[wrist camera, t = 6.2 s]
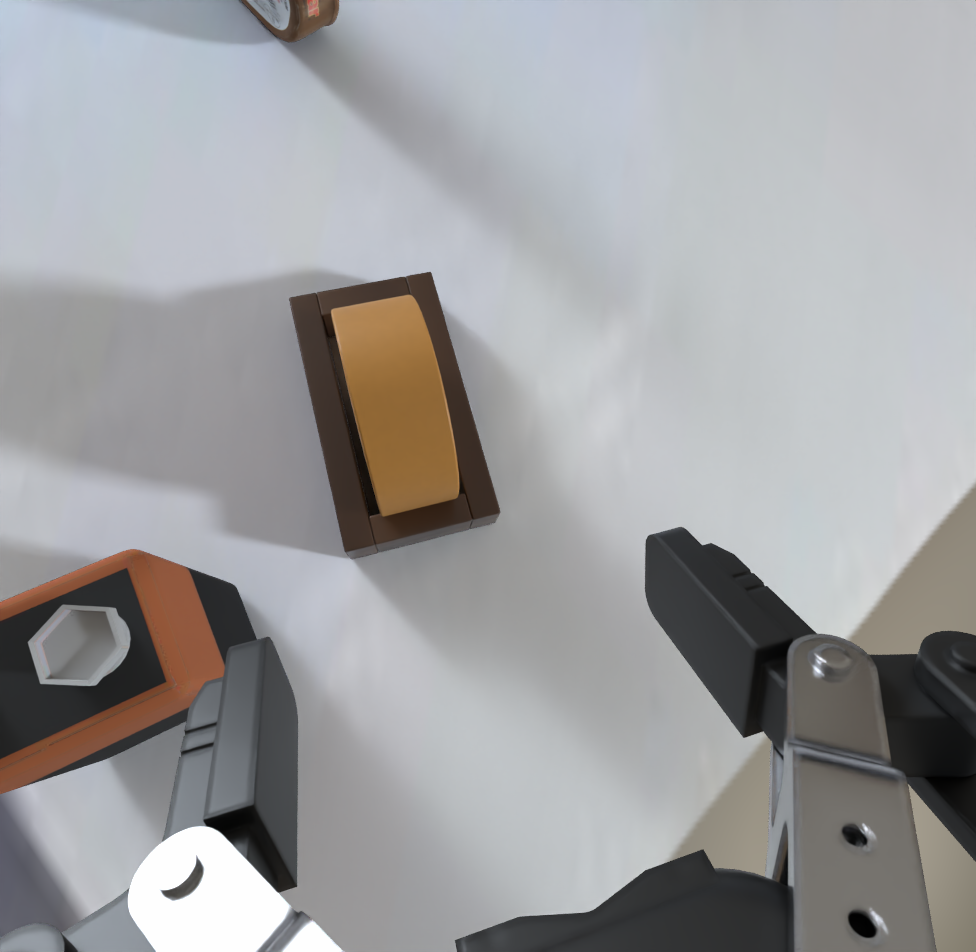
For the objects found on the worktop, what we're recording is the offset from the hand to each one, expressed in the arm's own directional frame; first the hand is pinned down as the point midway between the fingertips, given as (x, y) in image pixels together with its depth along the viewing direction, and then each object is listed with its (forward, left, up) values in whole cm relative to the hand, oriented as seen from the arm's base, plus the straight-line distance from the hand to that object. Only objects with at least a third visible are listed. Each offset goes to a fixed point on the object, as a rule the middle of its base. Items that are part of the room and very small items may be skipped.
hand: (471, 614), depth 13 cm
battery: (-11, +2, -13) cm, 17 cm away
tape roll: (0, +10, -13) cm, 16 cm away
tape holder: (0, +10, -13) cm, 16 cm away
